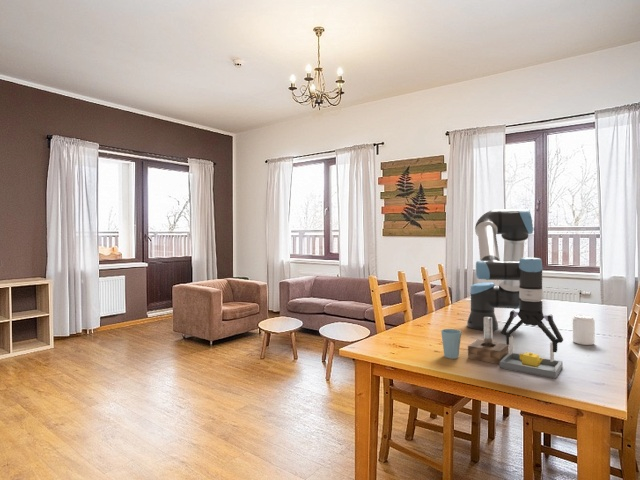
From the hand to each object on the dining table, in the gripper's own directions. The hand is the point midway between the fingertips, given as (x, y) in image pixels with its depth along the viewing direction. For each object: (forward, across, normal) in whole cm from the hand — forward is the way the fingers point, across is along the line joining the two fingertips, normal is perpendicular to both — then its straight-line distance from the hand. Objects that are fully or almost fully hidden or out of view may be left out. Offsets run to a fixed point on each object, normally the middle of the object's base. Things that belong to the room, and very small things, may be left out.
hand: (530, 357), depth 145 cm
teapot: (+4, 0, 0) cm, 4 cm away
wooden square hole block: (+4, -16, +3) cm, 17 cm away
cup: (+4, -28, -5) cm, 29 cm away
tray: (+4, 0, 0) cm, 4 cm away
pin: (+2, -16, +3) cm, 16 cm away
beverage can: (+4, +11, +49) cm, 50 cm away
